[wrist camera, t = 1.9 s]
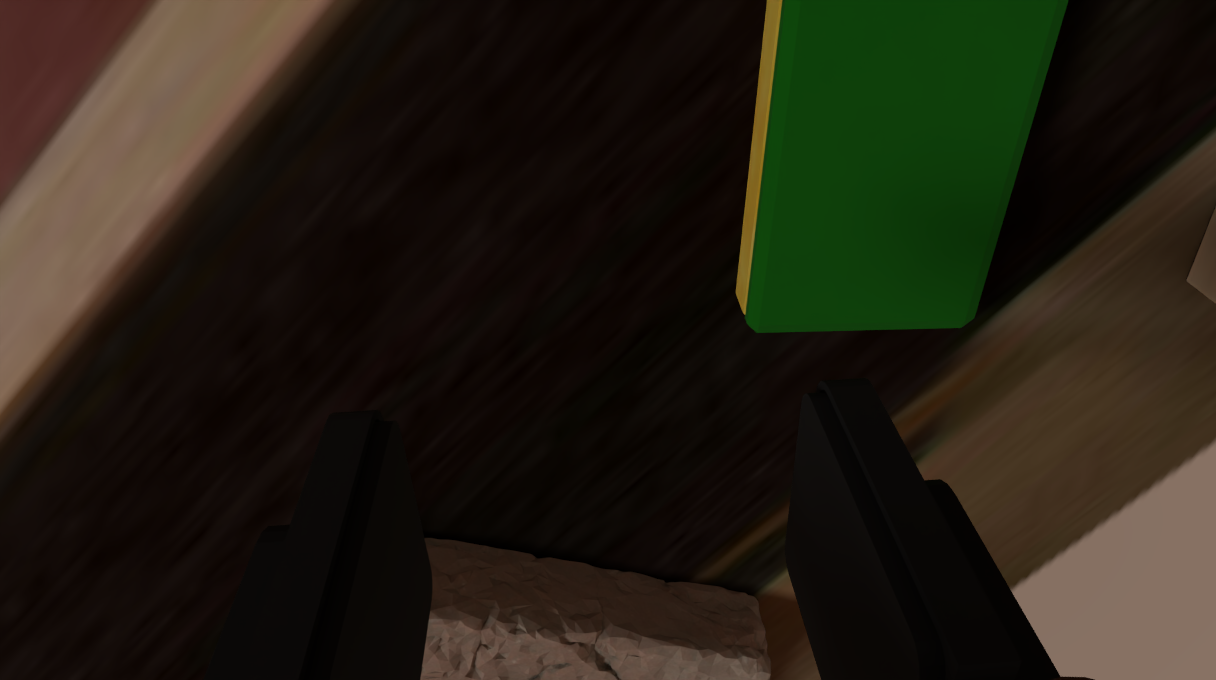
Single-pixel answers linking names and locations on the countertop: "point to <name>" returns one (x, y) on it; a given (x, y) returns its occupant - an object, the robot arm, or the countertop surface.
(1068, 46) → the countertop surface
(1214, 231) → the batten
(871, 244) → the dish sponge
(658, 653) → the brick
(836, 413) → the robot arm
